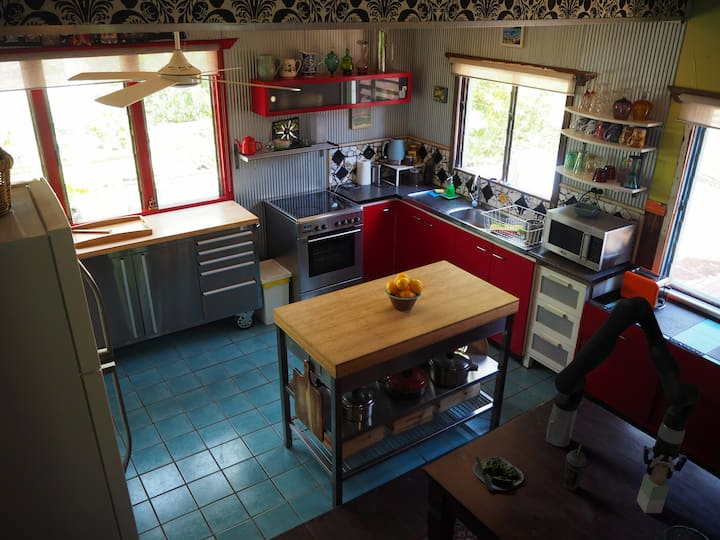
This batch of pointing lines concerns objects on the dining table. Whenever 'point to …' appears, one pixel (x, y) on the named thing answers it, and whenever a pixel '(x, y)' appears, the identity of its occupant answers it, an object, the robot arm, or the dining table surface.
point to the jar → (659, 473)
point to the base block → (649, 503)
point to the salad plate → (498, 474)
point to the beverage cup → (574, 469)
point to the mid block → (654, 489)
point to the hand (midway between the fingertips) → (658, 475)
